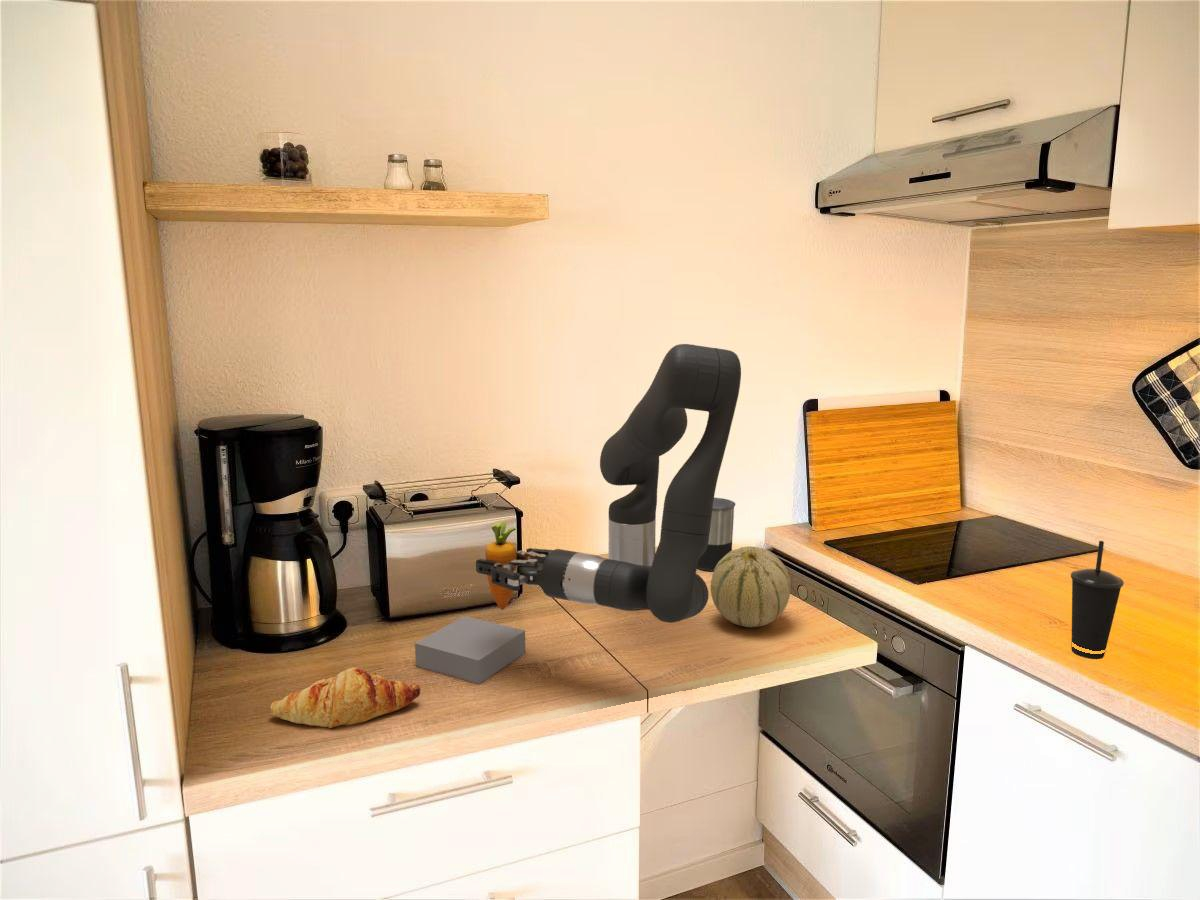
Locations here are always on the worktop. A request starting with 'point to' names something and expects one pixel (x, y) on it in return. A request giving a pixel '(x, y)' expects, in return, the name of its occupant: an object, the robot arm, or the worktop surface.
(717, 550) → the milk frother
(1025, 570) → the worktop surface
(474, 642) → the base block
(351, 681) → the croissant
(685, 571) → the robot arm
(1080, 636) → the drinking cup
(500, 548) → the carrot
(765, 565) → the cantaloupe
